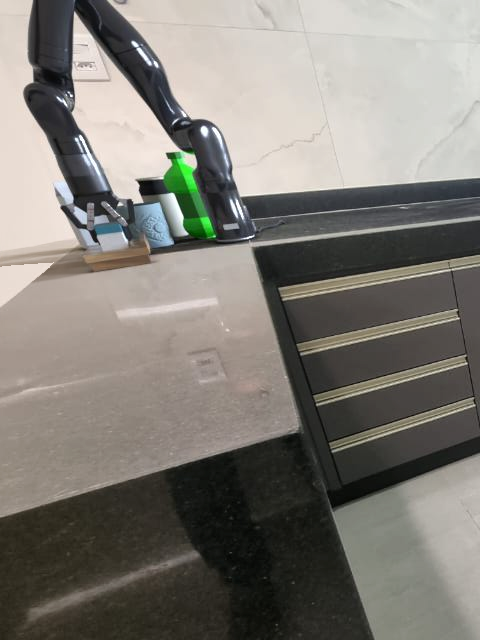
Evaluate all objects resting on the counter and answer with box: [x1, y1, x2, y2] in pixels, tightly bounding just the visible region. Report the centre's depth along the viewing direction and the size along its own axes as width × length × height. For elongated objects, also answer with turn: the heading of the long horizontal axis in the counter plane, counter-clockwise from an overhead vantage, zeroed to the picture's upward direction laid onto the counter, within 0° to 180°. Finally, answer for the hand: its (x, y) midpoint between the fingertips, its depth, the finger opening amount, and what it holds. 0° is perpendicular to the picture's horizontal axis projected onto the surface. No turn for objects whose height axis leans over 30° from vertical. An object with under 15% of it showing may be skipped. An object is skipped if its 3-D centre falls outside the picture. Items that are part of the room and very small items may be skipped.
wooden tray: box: [82, 232, 153, 273], centre depth 137 cm, size 18×12×6 cm, turn 41°
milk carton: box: [52, 180, 110, 250], centre depth 155 cm, size 7×7×19 cm
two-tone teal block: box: [94, 221, 130, 252], centre depth 135 cm, size 12×5×6 cm, turn 42°
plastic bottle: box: [163, 151, 216, 240], centre depth 161 cm, size 10×10×25 cm
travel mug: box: [134, 175, 190, 239], centre depth 166 cm, size 8×8×18 cm
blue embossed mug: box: [116, 202, 175, 250], centre depth 154 cm, size 10×10×12 cm
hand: (115, 242), depth 137 cm, fingers closed on two-tone teal block, 5 cm apart
